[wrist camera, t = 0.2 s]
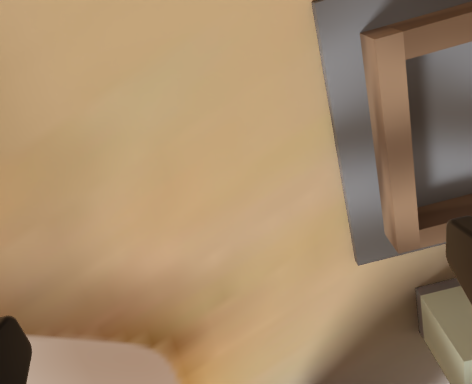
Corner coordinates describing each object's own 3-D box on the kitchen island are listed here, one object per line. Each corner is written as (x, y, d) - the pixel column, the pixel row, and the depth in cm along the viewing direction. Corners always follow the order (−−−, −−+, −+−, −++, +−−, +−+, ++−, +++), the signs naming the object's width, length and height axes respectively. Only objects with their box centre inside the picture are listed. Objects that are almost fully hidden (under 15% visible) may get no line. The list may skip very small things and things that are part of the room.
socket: (552, 209, 26) (586, 232, 24) (355, 259, 27) (369, 287, 24) (578, -76, 19) (629, -82, 17) (311, 2, 20) (325, 6, 18)
